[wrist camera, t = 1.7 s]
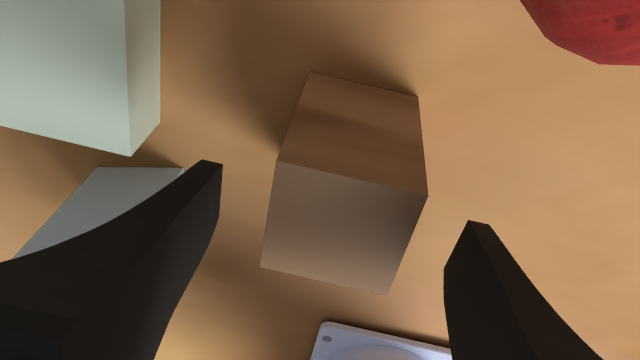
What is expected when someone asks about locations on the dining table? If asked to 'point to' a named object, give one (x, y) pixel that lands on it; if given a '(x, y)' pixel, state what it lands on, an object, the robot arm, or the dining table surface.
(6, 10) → the sage slab
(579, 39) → the onion
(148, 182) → the bluegrey post
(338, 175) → the walnut post
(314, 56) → the dining table surface
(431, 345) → the robot arm
